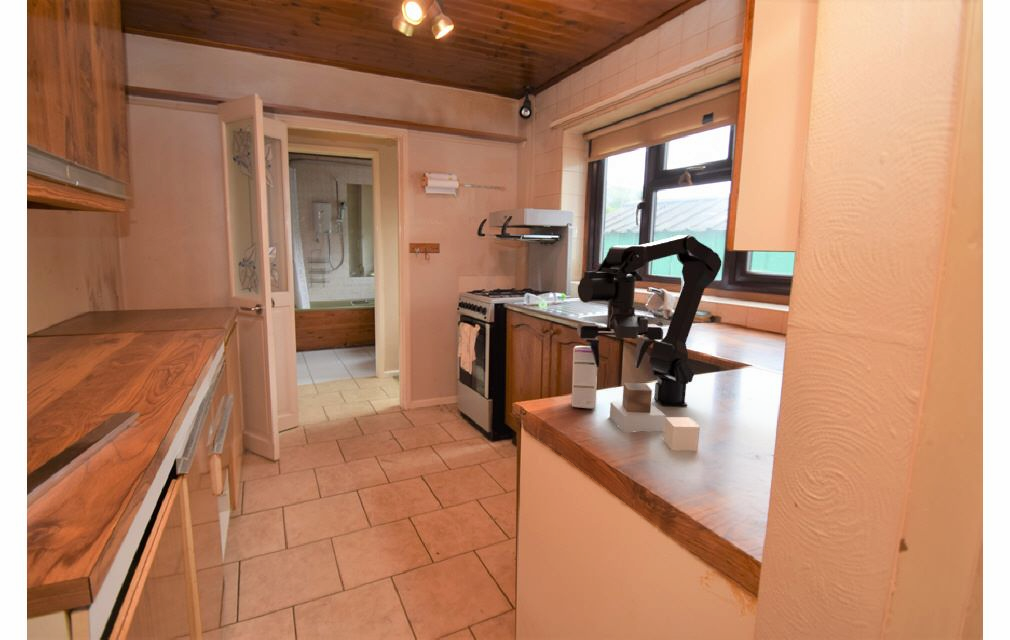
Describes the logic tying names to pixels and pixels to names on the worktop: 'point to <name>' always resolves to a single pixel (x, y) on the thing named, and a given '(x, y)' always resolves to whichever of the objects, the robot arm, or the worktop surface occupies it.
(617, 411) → the base block
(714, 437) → the worktop surface
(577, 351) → the syrup box
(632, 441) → the worktop surface
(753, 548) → the worktop surface
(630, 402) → the walnut cube
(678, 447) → the cream cube
